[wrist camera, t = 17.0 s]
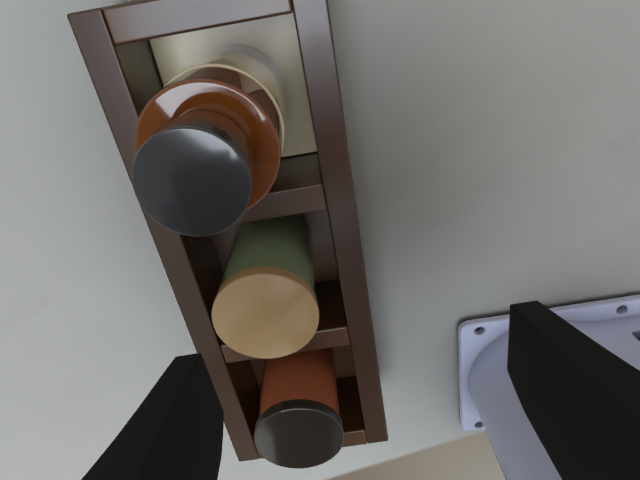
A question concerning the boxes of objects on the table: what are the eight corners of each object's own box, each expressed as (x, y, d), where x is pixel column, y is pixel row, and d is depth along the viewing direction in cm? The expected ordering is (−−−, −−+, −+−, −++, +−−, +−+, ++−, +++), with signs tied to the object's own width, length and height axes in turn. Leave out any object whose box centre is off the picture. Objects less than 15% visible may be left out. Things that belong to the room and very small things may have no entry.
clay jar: (329, 312, 23) (337, 402, 18) (339, 367, 24) (349, 462, 20) (256, 323, 23) (244, 415, 18) (271, 376, 25) (265, 474, 20)
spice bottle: (277, 33, 16) (259, 80, 9) (296, 136, 18) (294, 246, 11) (173, 52, 17) (71, 113, 9) (202, 152, 18) (137, 271, 11)
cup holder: (317, -32, 16) (322, -34, 13) (376, 378, 26) (388, 441, 22) (114, 6, 17) (65, 14, 13) (247, 397, 26) (238, 462, 23)
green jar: (307, 195, 20) (309, 265, 15) (320, 267, 21) (326, 351, 17) (222, 209, 20) (197, 283, 15) (243, 279, 22) (226, 366, 17)
